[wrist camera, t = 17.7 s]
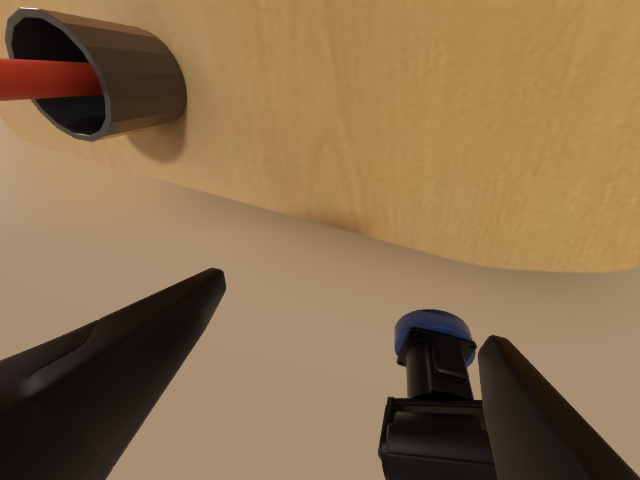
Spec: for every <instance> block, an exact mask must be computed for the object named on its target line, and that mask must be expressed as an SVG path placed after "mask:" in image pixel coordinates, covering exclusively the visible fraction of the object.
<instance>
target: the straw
mask: <svg viewBox="0 0 640 480" xmlns="http://www.w3.org/2000/svg"><path fill="white" fill-rule="evenodd" d="M88 95H103V92H102V89H101V86H100V83H99V80H98V77H97V75H96V73H95V72H94V70H93V68H92V67H91V65H90V63H88V62H66V61H44V60H22V59H0V101H8V100H24V99H40V98H56V97H72V96H88Z"/></svg>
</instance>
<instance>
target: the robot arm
mask: <svg viewBox="0 0 640 480" xmlns="http://www.w3.org/2000/svg"><path fill="white" fill-rule="evenodd" d="M225 291H226V283H225V277H224V273H223V271H222V270H220V269H216V268H210V269H207V270H205V271H203V272H201V273H199V274H196V275H194V276H192V277H190V278H188V279H185V280H183V281H181V282H179V283H177V284H175V285H173V286H170V287H168V288H166V289H164V290H162V291H159V292H157V293H155V294H153V295H151V296H149V297H146V298H144V299H142V300H140V301H137V302H135V303H133V304H131V305H129V306H127V307H124V308H122V309H120V310H118V311H116V312H113V313H111V314H109V315H107V316H105V317H103V318H100V319H99V320H96V321H94V322H91V323H89V324H87V325H85V326H83V327H80V328H78V329H76V330H74V331H72V332H69V333H67V334H65V335H62V336H60V337H58V338H55V339H53V340H51V341H48V342H46V343H43V344H41V345H38V346H36V347H33V348H31V349H28V350H26V351H23V352H21V353H18V354H16V355H13V356H11V357H8V358H6V359H3V360H1V361H0V480H106V478H107V477H108V475H109V474H110V472H111V471H112V469H113V467H114V466H115V464H116V463H117V461H118V460H119V458H120V457H121V455H122V454H123V452H124V451H125V449H126V448H127V446H128V445H129V443H130V442H131V440H132V439H133V437H134V436H135V434H136V433H137V431H138V430H139V428H140V427H141V425H142V424H143V422H144V421H145V419H146V417H147V416H148V415H149V413H150V412H151V410H152V409H153V407H154V406H155V404H156V403H157V401H158V400H159V398H160V397H161V395H162V394H163V392H164V391H165V389H166V388H167V386H168V385H169V383H170V382H171V380H172V379H173V377H174V376H175V374H176V373H177V371H178V370H179V368H180V367H181V365H182V364H183V362H184V361H185V359H186V357H187V356H188V355H189V353H190V352H191V350H192V349H193V347H194V346H195V344H196V343H197V341H198V340H199V338H200V337H201V335H202V334H203V332H204V330H205V329H206V327H207V325H208V324H209V322H210V320H211V318H212V316H213V314H214V312H215V310H216V308H217V306H218V304H219V303H220V300H221V299H222V297H223V295H224V293H225ZM476 348H477V346H476V343H475V342H474V341H472V340H467V339H463V338H459V337H455V336H451V335H447V334H443V333H439V332H435V331H431V330H427V329H423V328H419V327H411V328H410V329H409V331H408V334H407V336H406V338H405V341H404V343H403V345H402V348H401V350H400V352H399V355H398V357H397V364H398V365H401V366H405V367H406V369H407V396H408V397H407V398H394V397H388V400H387V405H386V408H385V413H384V420H383V425H382V431H381V437H380V444H379V448H378V456H379V458H380V459H381V461H382V467H383V472H384V476H385V479H386V480H640V477H639V476H638V475H637V474H636V473H635V472H634V471H633V470H632V469H631V468H630V467H629V466H628V465H627V464H626V463H625V462H624V460H623V459H621V457H620V456H619V455H618V454H617V453H616V452H615V451H614V450H613V449H612V448H611V447H610V446H609V445H608V444H607V443H606V442H605V441H604V439H603V438H602V437H601V436H600V435H599V434H598V433H597V432H596V431H595V430H594V429H593V428H592V427H591V426H590V425H589V424H588V423H587V422H586V421H585V420H584V419H583V417H582V416H581V415H580V414H579V413H578V412H577V411H576V410H575V409H574V408H573V407H572V406H571V405H570V404H569V403H568V402H567V401H566V400H565V399H564V398H563V397H562V395H561V394H560V393H559V392H558V391H557V390H556V389H555V388H554V387H553V386H552V385H551V384H550V383H549V382H548V381H547V380H546V379H545V378H544V377H543V376H542V375H541V373H539V371H538V370H537V369H536V368H535V367H534V366H533V365H532V364H531V363H530V362H529V361H528V360H527V359H526V358H525V357H524V356H523V355H522V354H521V353H520V352H519V350H518V349H517V348H516V347H515V346H514V345H513V344H512V343H511V342H510V341H509V340H508V339H506V338H503V337H499V336H495V335H491V336H489V337H488V339H487V340H486V341H485V343H484V344H483V346H482V347H481V348H480V350H479V352H478V363H479V374H480V384H481V394H482V400H474V397H473V393H472V389H471V385H470V380H469V375H468V371H467V366H466V363H467V361H468V360H469V358H470V357H471V355H472V354H473V353H474V351H475V349H476Z"/></svg>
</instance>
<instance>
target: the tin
mask: <svg viewBox="0 0 640 480" xmlns="http://www.w3.org/2000/svg"><path fill="white" fill-rule="evenodd" d="M5 42H6V46H7V51H8V55H9V59H22V60H44V61H66V62H88V63H90V65H91V67H92V68H93V70H94V72H95V73H96V75H97V77H98V80H99V83H100V86H101V89H102V92H103V95H88V96H72V97H56V98H40V99H31V101H32V102H33V103H34V105H35V106H36V107H37V109H38V110H39V111H40V112H41V113H42V114H43V115H44V116H45V117H46V118H47V119H48V120H49V121H50V122H51V123H52V124H53V125H55V126H56V127H57V128H58V129H59V130H61V131H63V132H65V133H66V134H68V135H70V136H72V137H74V138H75V139H79V140H85V141H91V142H94V141H98V140H103V139H108V138H112V137H117V136H121V135H126V134H131V133H135V132H140V131H145V130H149V129H154V128H159V127H163V126H166V125H169V124H172V123H174V122H176V121H177V120H178V119H179V118H180V116H181V115H182V113H183V111H184V108H185V104H186V88H185V82H184V78H183V75H182V72H181V70H180V67H179V65H178V63H177V61H176V59H175V58H174V56H173V54H172V53H171V52H170V50H169V49H168V48H167V46H166V45H165V44H164V43H163V42H162V41H161V40H159V39H158V38H157V37H156V36H154V35H153V34H152V33H150V32H148V31H146V30H143V29H140V28H138V27H133V26H128V25H122V24H117V23H112V22H106V21H101V20H96V19H91V18H85V17H80V16H75V15H69V14H64V13H59V12H54V11H48V10H43V9H35V8H19V9H18V10H17V11H15V12H14V13H13V14H12V15H11V16H10V17H9V18H8V20H7V27H6V34H5Z"/></svg>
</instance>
